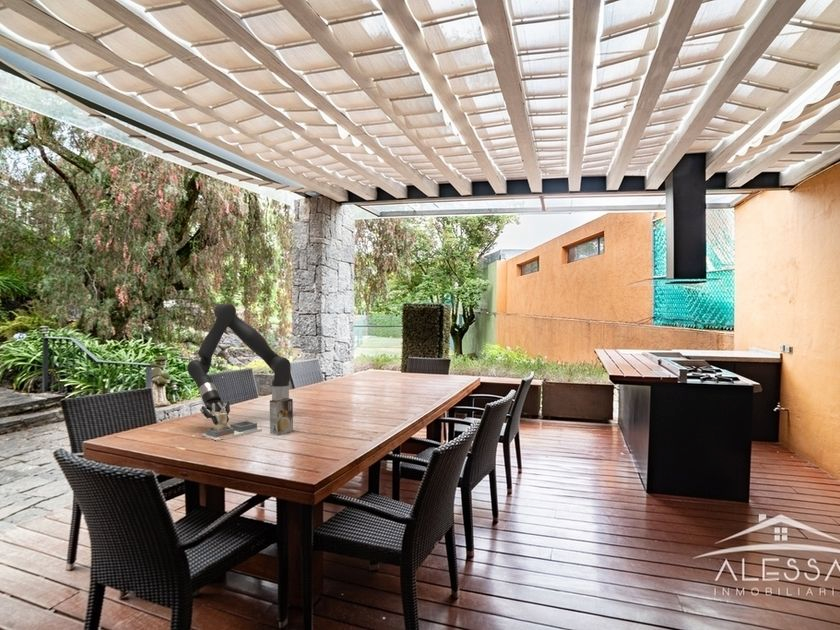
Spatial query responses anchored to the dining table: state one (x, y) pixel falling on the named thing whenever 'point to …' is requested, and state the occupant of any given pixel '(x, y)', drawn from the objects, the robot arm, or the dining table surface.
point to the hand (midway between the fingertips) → (222, 422)
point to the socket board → (233, 430)
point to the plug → (220, 422)
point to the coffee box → (281, 416)
